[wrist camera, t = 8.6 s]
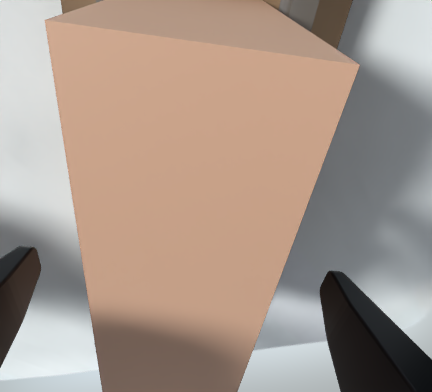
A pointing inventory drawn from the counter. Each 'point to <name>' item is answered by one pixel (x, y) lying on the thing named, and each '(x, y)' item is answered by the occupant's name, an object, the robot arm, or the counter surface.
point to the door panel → (189, 175)
